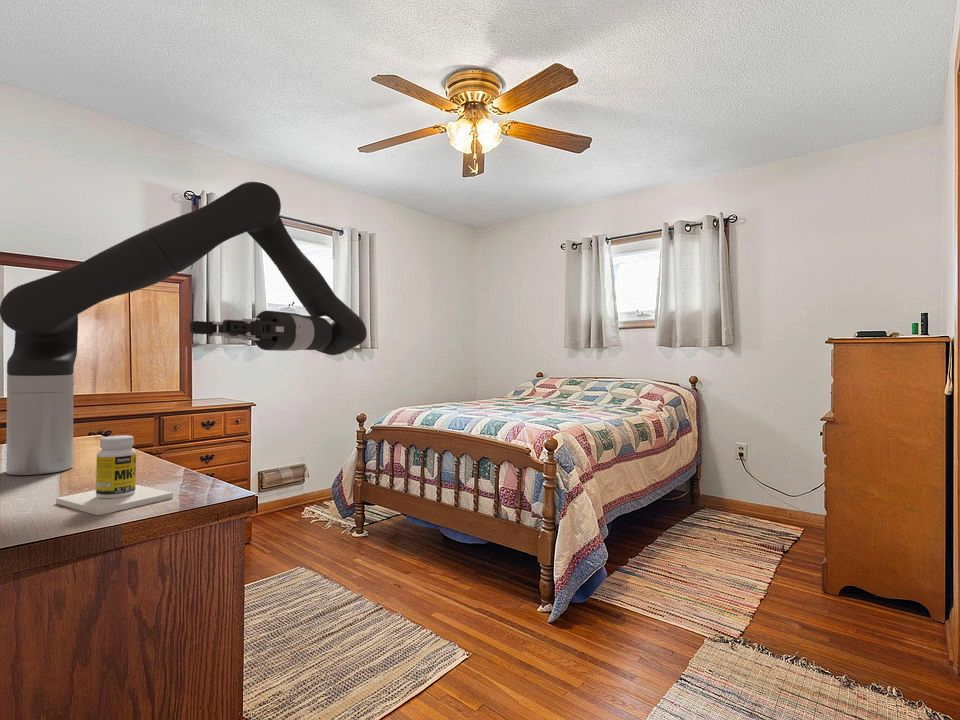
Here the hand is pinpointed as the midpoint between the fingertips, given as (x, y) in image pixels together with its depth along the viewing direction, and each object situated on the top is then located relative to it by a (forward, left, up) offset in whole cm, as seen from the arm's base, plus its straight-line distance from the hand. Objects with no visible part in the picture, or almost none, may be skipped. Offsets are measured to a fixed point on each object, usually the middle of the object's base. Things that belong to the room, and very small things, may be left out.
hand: (207, 326), depth 89 cm
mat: (0, -14, -26) cm, 30 cm away
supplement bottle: (0, -14, -25) cm, 29 cm away
